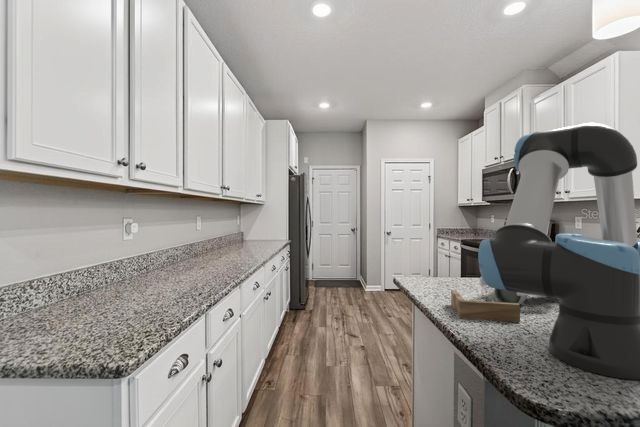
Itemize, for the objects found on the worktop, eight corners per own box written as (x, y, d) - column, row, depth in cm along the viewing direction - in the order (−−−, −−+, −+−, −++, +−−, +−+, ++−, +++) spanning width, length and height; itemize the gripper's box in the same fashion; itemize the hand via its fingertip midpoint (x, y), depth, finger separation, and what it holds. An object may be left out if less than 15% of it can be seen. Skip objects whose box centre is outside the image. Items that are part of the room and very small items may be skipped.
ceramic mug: (529, 304, 94) (529, 279, 94) (521, 309, 89) (522, 283, 89) (492, 297, 102) (492, 274, 102) (483, 301, 96) (483, 277, 97)
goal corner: (522, 322, 78) (522, 304, 78) (460, 318, 82) (460, 301, 82) (500, 304, 94) (500, 290, 95) (449, 301, 98) (449, 287, 98)
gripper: (591, 302, 88) (537, 309, 82) (514, 284, 112) (468, 288, 106) (591, 277, 88) (536, 281, 82) (514, 264, 112) (467, 267, 106)
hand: (497, 285), depth 94 cm, fingers open, 13 cm apart
